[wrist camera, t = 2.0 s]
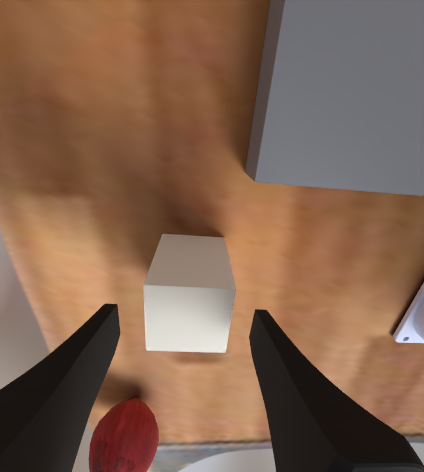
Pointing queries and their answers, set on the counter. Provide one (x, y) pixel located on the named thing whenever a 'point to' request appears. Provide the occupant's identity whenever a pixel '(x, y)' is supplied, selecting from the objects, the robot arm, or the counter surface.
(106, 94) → the counter surface
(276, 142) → the riser block
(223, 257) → the cream block
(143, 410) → the onion
